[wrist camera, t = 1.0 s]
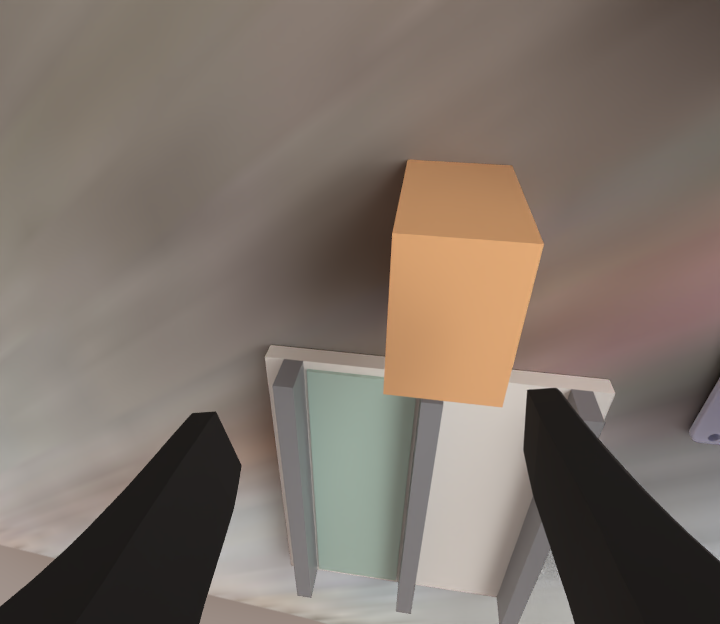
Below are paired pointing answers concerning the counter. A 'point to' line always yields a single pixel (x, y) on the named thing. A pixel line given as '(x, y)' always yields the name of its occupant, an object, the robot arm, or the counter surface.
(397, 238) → the orange block
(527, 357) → the counter surface
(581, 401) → the slot rack
